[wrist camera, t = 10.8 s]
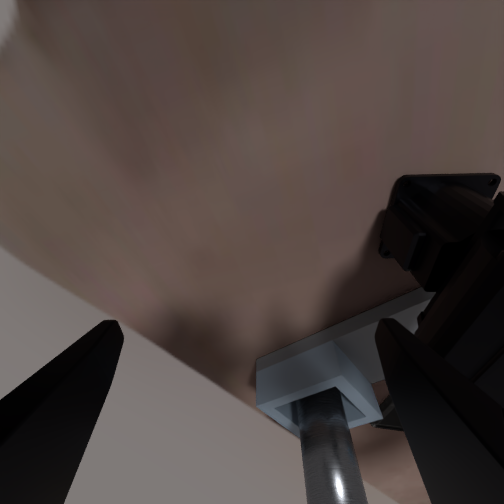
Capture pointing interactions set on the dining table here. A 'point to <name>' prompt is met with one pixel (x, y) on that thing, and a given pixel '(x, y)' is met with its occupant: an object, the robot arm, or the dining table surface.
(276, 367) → the hitch socket
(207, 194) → the dining table surface
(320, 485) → the pin
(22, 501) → the robot arm
